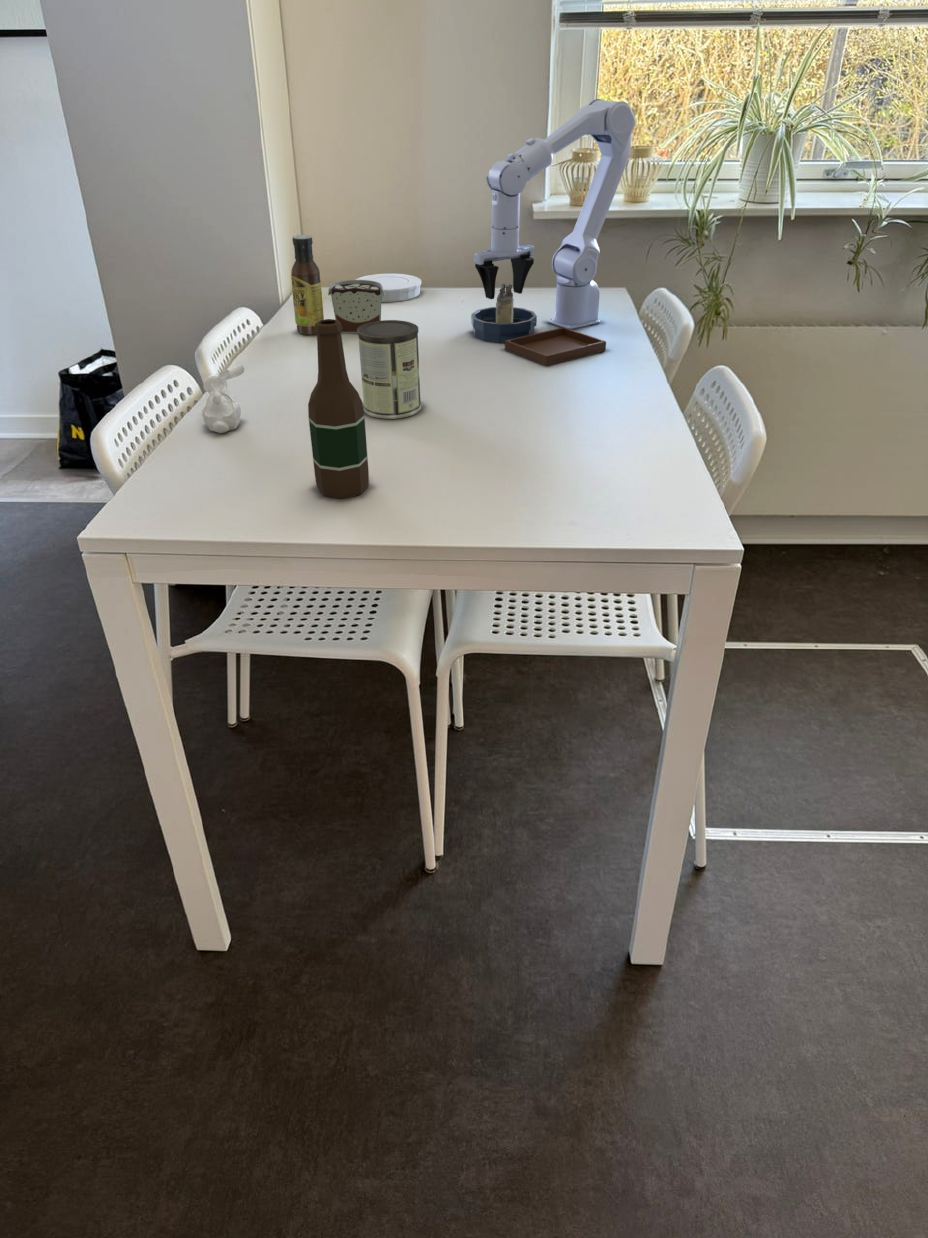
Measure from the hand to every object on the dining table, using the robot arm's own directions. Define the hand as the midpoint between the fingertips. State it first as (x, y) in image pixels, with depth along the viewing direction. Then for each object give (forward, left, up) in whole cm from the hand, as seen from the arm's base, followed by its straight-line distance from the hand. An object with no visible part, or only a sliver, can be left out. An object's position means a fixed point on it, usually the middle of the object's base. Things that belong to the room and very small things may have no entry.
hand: (504, 295), depth 190 cm
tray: (-1, +16, -8) cm, 18 cm away
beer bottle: (+67, +47, -8) cm, 82 cm away
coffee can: (+44, +24, -8) cm, 51 cm away
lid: (+3, -45, -8) cm, 46 cm away
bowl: (0, 0, -8) cm, 8 cm away
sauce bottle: (+33, -27, -8) cm, 43 cm away
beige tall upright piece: (0, 0, -8) cm, 8 cm away
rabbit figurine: (+70, +13, -8) cm, 72 cm away
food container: (+23, -22, -8) cm, 33 cm away
